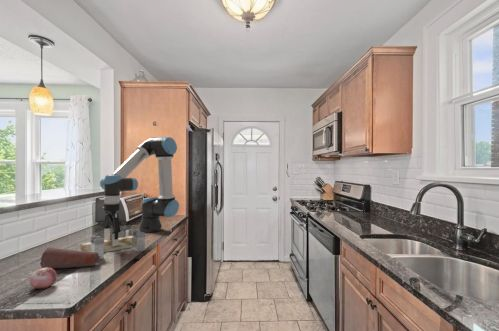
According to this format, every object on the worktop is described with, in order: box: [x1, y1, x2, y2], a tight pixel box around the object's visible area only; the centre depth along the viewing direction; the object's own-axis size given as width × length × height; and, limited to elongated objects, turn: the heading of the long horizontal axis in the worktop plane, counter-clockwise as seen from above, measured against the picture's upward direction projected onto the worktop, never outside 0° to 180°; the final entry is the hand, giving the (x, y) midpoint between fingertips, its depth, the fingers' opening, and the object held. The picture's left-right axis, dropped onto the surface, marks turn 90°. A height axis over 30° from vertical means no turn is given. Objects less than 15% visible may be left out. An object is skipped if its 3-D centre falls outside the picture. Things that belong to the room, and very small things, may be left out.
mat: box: [77, 245, 132, 253], centre depth 150 cm, size 32×10×1 cm, turn 133°
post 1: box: [90, 235, 105, 260], centre depth 135 cm, size 4×7×10 cm, turn 44°
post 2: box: [131, 229, 146, 253], centre depth 149 cm, size 4×7×10 cm, turn 44°
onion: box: [29, 267, 58, 290], centre depth 101 cm, size 8×8×7 cm
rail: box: [79, 235, 132, 252], centre depth 150 cm, size 28×4×4 cm, turn 133°
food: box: [39, 246, 101, 270], centre depth 123 cm, size 21×9×9 cm, turn 105°
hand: (111, 242), depth 150 cm, fingers open, 13 cm apart
